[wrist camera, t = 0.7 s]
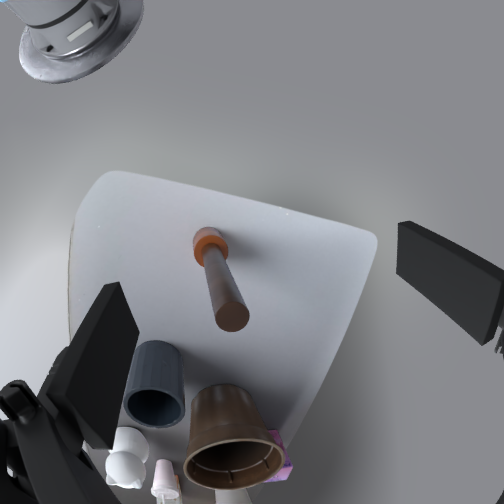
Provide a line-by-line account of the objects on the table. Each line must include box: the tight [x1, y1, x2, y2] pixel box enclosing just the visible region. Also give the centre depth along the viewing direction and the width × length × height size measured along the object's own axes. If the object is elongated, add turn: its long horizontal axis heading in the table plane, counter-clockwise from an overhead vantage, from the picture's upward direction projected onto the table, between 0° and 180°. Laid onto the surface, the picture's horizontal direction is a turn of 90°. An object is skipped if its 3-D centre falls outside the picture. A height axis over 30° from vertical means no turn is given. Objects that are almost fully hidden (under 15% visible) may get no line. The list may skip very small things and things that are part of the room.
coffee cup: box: [215, 488, 252, 504], centre depth 51 cm, size 10×10×15 cm
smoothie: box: [151, 459, 179, 504], centre depth 46 cm, size 6×6×14 cm
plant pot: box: [183, 384, 285, 490], centre depth 43 cm, size 16×16×16 cm
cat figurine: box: [106, 427, 150, 489], centre depth 42 cm, size 9×12×15 cm
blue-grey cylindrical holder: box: [123, 340, 185, 428], centre depth 40 cm, size 9×9×12 cm
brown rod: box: [193, 227, 249, 332], centre depth 31 cm, size 4×4×24 cm
